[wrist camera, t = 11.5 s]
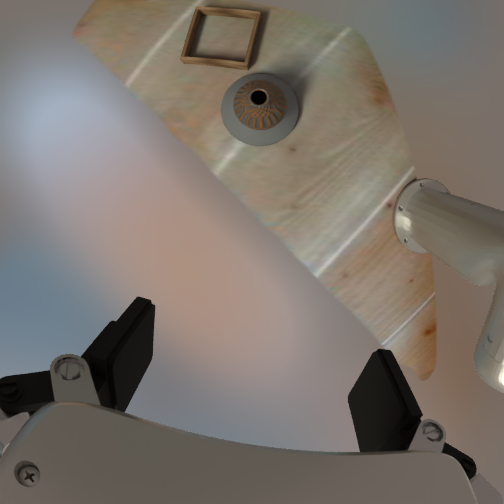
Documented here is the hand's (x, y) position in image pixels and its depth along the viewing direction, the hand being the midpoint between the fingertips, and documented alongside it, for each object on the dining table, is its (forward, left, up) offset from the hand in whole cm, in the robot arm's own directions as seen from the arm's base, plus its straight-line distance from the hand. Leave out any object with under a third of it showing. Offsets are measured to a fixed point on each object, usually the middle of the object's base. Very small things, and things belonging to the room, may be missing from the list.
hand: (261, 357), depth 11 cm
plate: (+4, -14, -34) cm, 37 cm away
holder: (+12, -25, -34) cm, 44 cm away
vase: (+4, -14, -33) cm, 36 cm away
